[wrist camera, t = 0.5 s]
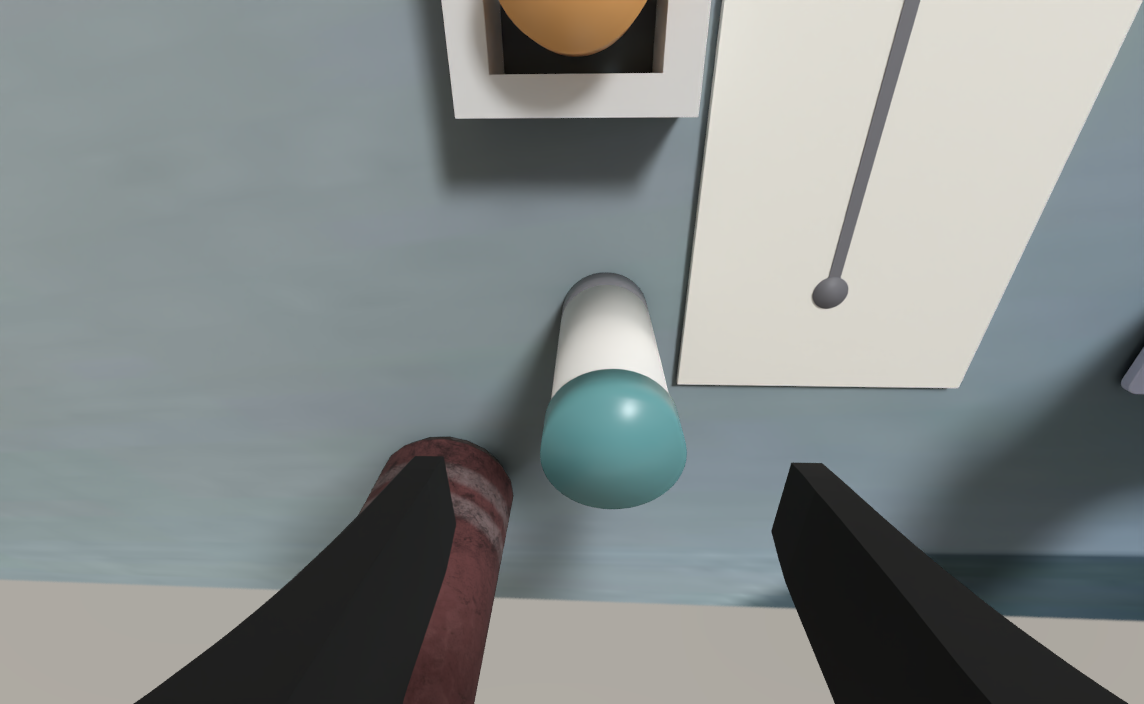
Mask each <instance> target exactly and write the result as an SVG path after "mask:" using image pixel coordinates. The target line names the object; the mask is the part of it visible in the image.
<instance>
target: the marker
mask: <svg viewBox="0 0 1144 704" xmlns="http://www.w3.org/2000/svg"><path fill="white" fill-rule="evenodd" d="M686 456H687V450H686V443H685V439H684V435H683V431H682V428H681V424H680V420H679V416H678V412H677V409H676V405H675V403H674V401H673V399H672V398H671V396H670V395H669V393H668V389H667V385H666V380H665V376H664V372H663V368H662V364H661V360H660V356H659V352H658V348H657V344H656V340H655V336H654V332H653V328H652V324H651V320H650V316H649V311H648V307H647V303H646V300H645V297H644V295H643V293H642V291H641V290H640V288H639V287H638V286H637V285H636V284H635V283H634V282H633V281H631V280H630V279H628V278H626V277H624V276H622V275H619V274H615V273H596V274H592V275H589V276H587V277H585V278H583V279H581V280H580V281H578V282H577V283H576V284H575V285H574V286H573V287H572V288H571V289H570V291H569V292H568V294H567V296H566V298H565V300H564V304H563V310H562V318H561V326H560V334H559V341H558V349H557V357H556V365H555V373H554V381H553V389H552V396H551V401H550V403H549V405H548V407H547V410H546V414H545V420H544V427H543V434H542V442H541V449H540V458H541V464H542V468H543V471H544V473H545V475H546V477H547V478H548V480H549V481H550V482H551V484H552V485H553V486H554V487H555V488H556V489H557V490H558V491H560V492H561V493H562V494H563V495H565V496H566V497H568V498H570V499H572V500H574V501H576V502H578V503H581V504H584V505H587V506H591V507H595V508H601V509H623V508H630V507H635V506H639V505H642V504H645V503H647V502H650V501H652V500H654V499H656V498H658V497H659V496H661V495H662V494H664V493H665V492H666V491H668V490H669V489H670V488H671V487H672V486H673V485H674V484H675V482H676V481H677V480H678V479H679V477H680V475H681V474H682V471H683V469H684V467H685V463H686Z"/></svg>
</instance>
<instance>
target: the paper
mask: <svg viewBox="0 0 1144 704" xmlns="http://www.w3.org/2000/svg"><path fill="white" fill-rule="evenodd" d="M1142 1H1143V0H722V6H721V14H720V22H719V30H718V39H717V47H716V55H715V64H714V72H713V80H712V89H711V97H710V105H709V114H708V122H707V130H706V139H705V147H704V155H703V163H702V172H701V180H700V188H699V197H698V205H697V213H696V222H695V230H694V238H693V247H692V255H691V263H690V272H689V280H688V288H687V296H686V305H685V313H684V321H683V330H682V338H681V346H680V355H679V363H678V371H677V380H676V381H677V384H687V385H761V386H835V387H910V388H959V386H960V384H961V382H962V380H963V378H964V375H965V373H966V371H967V369H968V367H969V365H970V363H971V361H972V359H973V357H974V354H975V352H976V350H977V348H978V346H979V344H980V342H981V340H982V338H983V336H984V333H985V331H986V329H987V327H988V325H989V323H990V321H991V319H992V317H993V314H994V312H995V310H996V308H997V306H998V304H999V302H1000V300H1001V298H1002V296H1003V293H1004V291H1005V289H1006V287H1007V285H1008V283H1009V281H1010V279H1011V277H1012V275H1013V272H1014V270H1015V268H1016V266H1017V264H1018V262H1019V260H1020V258H1021V256H1022V253H1023V251H1024V249H1025V247H1026V245H1027V243H1028V241H1029V239H1030V237H1031V235H1032V232H1033V230H1034V228H1035V226H1036V224H1037V222H1038V220H1039V218H1040V216H1041V214H1042V211H1043V209H1044V207H1045V205H1046V203H1047V201H1048V199H1049V197H1050V195H1051V192H1052V190H1053V188H1054V186H1055V184H1056V182H1057V180H1058V178H1059V176H1060V174H1061V171H1062V169H1063V167H1064V165H1065V163H1066V161H1067V159H1068V157H1069V155H1070V153H1071V150H1072V148H1073V146H1074V144H1075V142H1076V140H1077V138H1078V136H1079V134H1080V131H1081V129H1082V127H1083V125H1084V123H1085V121H1086V119H1087V117H1088V115H1089V113H1090V110H1091V108H1092V106H1093V104H1094V102H1095V100H1096V98H1097V96H1098V94H1099V92H1100V89H1101V87H1102V85H1103V83H1104V81H1105V79H1106V77H1107V75H1108V73H1109V70H1110V68H1111V66H1112V64H1113V62H1114V60H1115V58H1116V56H1117V54H1118V52H1119V49H1120V47H1121V45H1122V43H1123V41H1124V39H1125V37H1126V35H1127V33H1128V31H1129V28H1130V26H1131V24H1132V22H1133V20H1134V18H1135V16H1136V14H1137V12H1138V9H1139V7H1140V5H1141V3H1142Z"/></svg>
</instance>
